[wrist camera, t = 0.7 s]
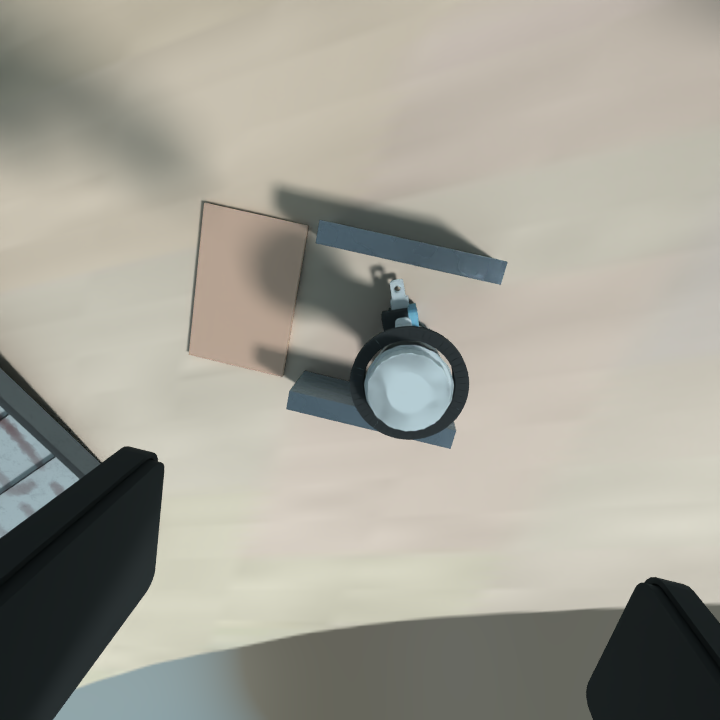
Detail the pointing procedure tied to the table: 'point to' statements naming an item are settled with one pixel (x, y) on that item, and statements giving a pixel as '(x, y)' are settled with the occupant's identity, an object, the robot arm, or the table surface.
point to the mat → (246, 288)
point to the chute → (333, 393)
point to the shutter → (33, 456)
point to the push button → (408, 376)
